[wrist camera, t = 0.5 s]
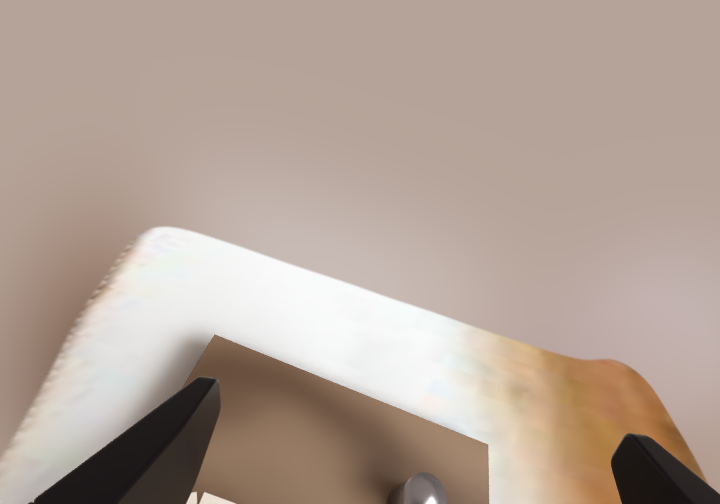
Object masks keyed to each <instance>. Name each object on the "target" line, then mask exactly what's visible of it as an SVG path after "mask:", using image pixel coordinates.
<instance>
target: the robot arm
mask: <svg viewBox="0 0 720 504" xmlns="http://www.w3.org/2000/svg"><path fill="white" fill-rule="evenodd" d="M220 409H221V399H220V387H219V381H218V379H216V378H212V377H204V376H200V377H198V378H196V379H195V380H193V381H192V382H191V383H189V384H188V385H187V386H185V387H184V388H183V389H181V390H180V391H179V392H177V393H176V394H175V395H173V396H172V397H171V398H169V399H168V400H167V401H165V402H164V403H163V404H161V405H160V406H159V407H157V408H156V409H155V410H153V411H152V412H151V413H149V414H148V415H147V416H145V417H144V418H142V419H141V420H140V421H138V422H137V423H136V424H134V425H133V426H132V427H130V428H129V429H128V430H126V431H125V432H124V433H122V434H121V435H120V436H118V437H117V438H116V439H114V440H113V441H112V442H110V443H109V444H108V445H106V446H105V447H104V448H102V449H101V450H100V451H98V452H97V453H96V454H94V455H93V456H92V457H90V458H89V459H88V460H86V461H85V462H84V463H82V464H81V465H80V466H78V467H77V468H76V469H74V470H73V471H72V472H70V473H69V474H68V475H66V476H65V477H63V478H62V479H61V480H59V481H58V482H57V483H55V484H54V485H53V486H51V487H50V488H49V489H47V490H46V491H45V492H43V493H42V494H41V495H39V496H38V497H37V498H36V499H35V500H34V503H33V502H30V503H28V504H186V503H187V501H188V499H189V497H190V495H191V492H192V490H193V488H194V485H195V483H196V480H197V477H198V475H199V472H200V469H201V466H202V463H203V460H204V457H205V455H206V452H207V449H208V446H209V443H210V440H211V437H212V434H213V431H214V428H215V426H216V423H217V420H218V417H219V414H220ZM611 467H612V471H613V475H614V478H615V482H616V485H617V489H618V492H619V495H620V499H621V502H622V504H720V494H718V492H716V491H715V490H714V489H713V488H711V487H710V486H709V485H708V484H707V483H705V482H704V481H703V480H702V479H701V478H699V477H698V476H697V475H696V474H694V473H693V472H692V471H691V470H690V469H688V468H687V467H686V466H685V465H684V464H682V463H681V462H680V461H679V460H677V459H676V458H675V457H674V456H673V455H671V454H670V453H669V452H668V451H666V450H665V449H664V448H663V447H662V446H660V445H659V444H658V443H657V442H656V441H654V440H653V439H652V438H650V437H648V436H646V435H640V434H632V433H629V434H626V435H625V436H624V437H623V439H622V440H621V442H620V444H619V445H618V447H617V449H616V450H615V452H614V454H613V456H612V459H611Z"/></svg>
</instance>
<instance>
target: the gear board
mask: <svg viewBox="0 0 720 504" xmlns="http://www.w3.org/2000/svg"><path fill="white" fill-rule="evenodd" d="M200 376H204V377H212V378H216V379H218V381H219V387H220V399H221V409H220V414H219V417H218V420H217V423H216V426H215V428H214V431H213V434H212V437H211V440H210V443H209V446H208V449H207V452H206V455H205V457H204V460H203V463H202V466H201V469H200V472H199V475H198V477H197V480H196V483H195V485H194V488H193V490H192V492H191V493H193V492H197V504H199V503H200V501H201V498H202V496H203V494H204V492H206V493H208V494H211V495H214V496H217V497H219V498H222V499H225V500H228V501H230V502H233V503H236V504H387V500H388V496H389V494H390V492H391V490H392V489H393V488H395V487H396V486H398V485H400V484H401V483H403V482H405V481H406V480H408V479H410V478H411V477H413V476H415V475H416V474H418V473H421V472H427V473H430V474H432V475H434V476H435V477H436V478H437V479H438V480H439V481H440V482H441V484H442V485H443V487H444V489H445V492H446V497H447V504H489V465H488V444H485V443H483V442H480V441H478V440H475V439H473V438H470V437H468V436H465V435H463V434H460V433H458V432H455V431H453V430H450V429H448V428H445V427H443V426H440V425H438V424H435V423H433V422H431V421H428V420H426V419H423V418H421V417H418V416H416V415H413V414H411V413H408V412H406V411H403V410H401V409H398V408H396V407H393V406H391V405H388V404H386V403H383V402H381V401H378V400H376V399H373V398H371V397H368V396H366V395H363V394H361V393H359V392H356V391H354V390H351V389H349V388H346V387H344V386H341V385H339V384H336V383H334V382H331V381H329V380H326V379H324V378H321V377H319V376H316V375H314V374H311V373H309V372H306V371H304V370H301V369H299V368H296V367H294V366H292V365H289V364H287V363H284V362H282V361H279V360H277V359H274V358H272V357H269V356H267V355H264V354H262V353H259V352H257V351H254V350H252V349H249V348H247V347H244V346H242V345H239V344H237V343H234V342H232V341H229V340H227V339H224V338H222V337H220V336H217V335H215V334H214V336H213V338H212V339H211V341H210V343H209V345H208V346H207V348H206V350H205V351H204V353H203V355H202V356H201V358H200V360H199V361H198V363H197V365H196V366H195V368H194V370H193V371H192V373H191V375H190V376H189V378H188V380H187V381H186V383H185V385H184V386H183V388H184V387H185V386H187V385H188V384H189V383H191V382H192V381H193V380H195V379H196V378H198V377H200ZM183 388H182V389H183Z"/></svg>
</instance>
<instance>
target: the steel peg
mask: <svg viewBox="0 0 720 504" xmlns="http://www.w3.org/2000/svg"><path fill="white" fill-rule="evenodd" d="M387 504H447V497H446V492H445V489H444V487H443V485H442V484H441V482H440V481H439V480H438V479H437V478H436V477H435V476H434V475H432V474H430V473H427V472H421V473H418V474H416V475H415V476H413V477H411V478H410V479H408V480H406V481H405V482H403V483H401V484H400V485H398V486H396V487H395V488H393V489H392V490H391V492H390V494H389V496H388V500H387Z"/></svg>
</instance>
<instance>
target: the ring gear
mask: <svg viewBox="0 0 720 504" xmlns="http://www.w3.org/2000/svg"><path fill="white" fill-rule="evenodd" d="M186 504H197V492H193V493H191V495H190V497H189V499H188V501H187V503H186ZM199 504H236V503H233V502H230V501H228V500H225V499H222V498H219V497H217V496H214V495H211V494H208V493H206V492H204V494H203V496H202V498H201V501H200V503H199Z"/></svg>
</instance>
